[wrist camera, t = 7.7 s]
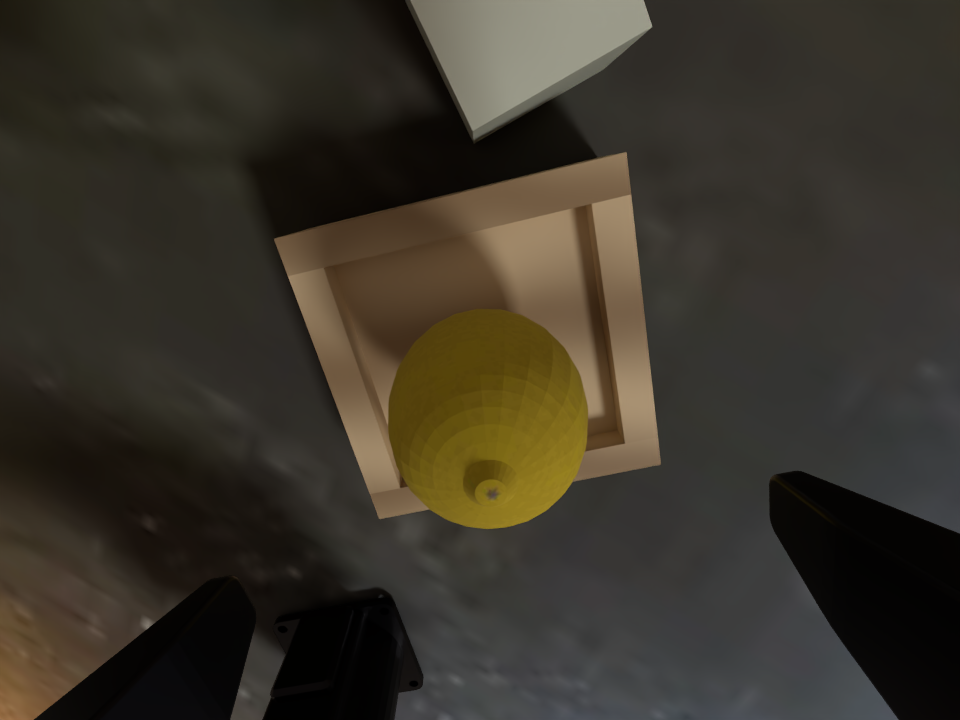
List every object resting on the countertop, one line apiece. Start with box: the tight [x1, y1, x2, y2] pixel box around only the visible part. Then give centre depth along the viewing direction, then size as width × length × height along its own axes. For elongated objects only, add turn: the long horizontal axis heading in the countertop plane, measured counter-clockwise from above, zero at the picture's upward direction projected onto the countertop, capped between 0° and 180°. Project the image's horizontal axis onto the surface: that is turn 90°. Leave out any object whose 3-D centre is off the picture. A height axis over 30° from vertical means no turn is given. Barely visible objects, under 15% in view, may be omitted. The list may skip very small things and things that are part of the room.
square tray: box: [274, 152, 661, 519], centre depth 18 cm, size 11×11×4 cm
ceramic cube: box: [405, 0, 652, 144], centre depth 14 cm, size 5×5×5 cm
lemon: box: [388, 309, 588, 529], centre depth 14 cm, size 6×6×8 cm
